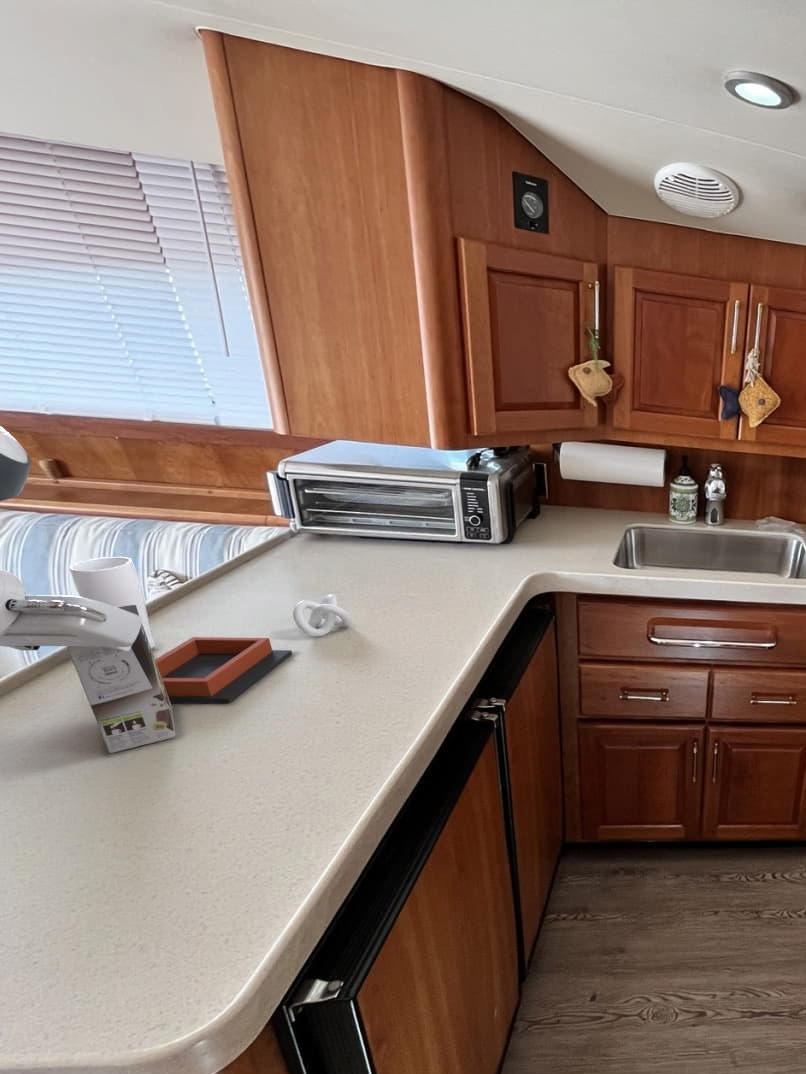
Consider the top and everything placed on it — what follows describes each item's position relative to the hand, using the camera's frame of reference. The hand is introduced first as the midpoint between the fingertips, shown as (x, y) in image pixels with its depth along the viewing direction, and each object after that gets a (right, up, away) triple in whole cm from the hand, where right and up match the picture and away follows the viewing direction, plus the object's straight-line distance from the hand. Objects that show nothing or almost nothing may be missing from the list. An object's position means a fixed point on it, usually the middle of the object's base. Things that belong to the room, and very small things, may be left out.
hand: (80, 644), depth 76 cm
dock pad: (-5, -6, +21) cm, 23 cm away
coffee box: (-2, -12, +9) cm, 15 cm away
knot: (+2, 0, +38) cm, 38 cm away
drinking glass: (-22, -3, +27) cm, 34 cm away
